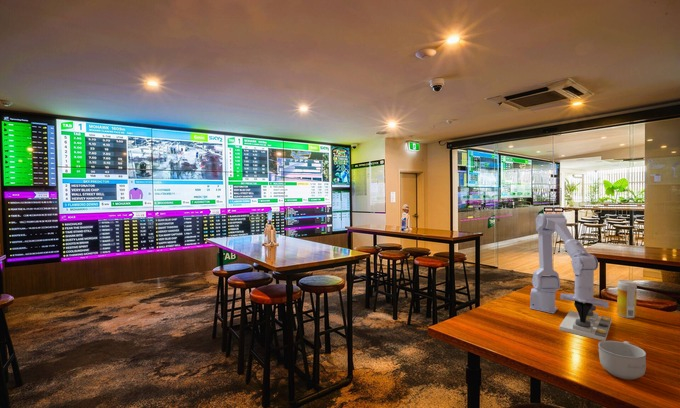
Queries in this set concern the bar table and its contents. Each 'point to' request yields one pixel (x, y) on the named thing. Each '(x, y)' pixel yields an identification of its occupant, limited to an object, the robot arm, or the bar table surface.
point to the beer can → (626, 299)
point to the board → (595, 331)
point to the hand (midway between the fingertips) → (583, 321)
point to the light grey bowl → (622, 359)
